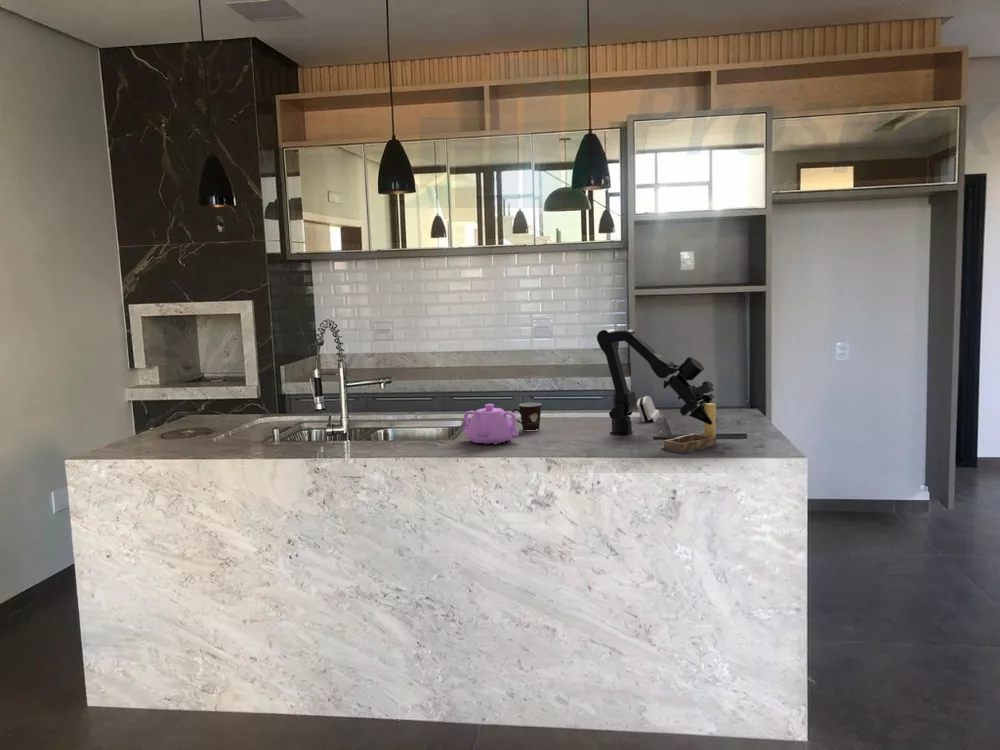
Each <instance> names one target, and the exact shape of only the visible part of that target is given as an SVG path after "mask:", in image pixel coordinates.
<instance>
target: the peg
mask: <svg viewBox="0 0 1000 750" xmlns="http://www.w3.org/2000/svg"><path fill="white" fill-rule="evenodd" d="M716 409H717V404H716V403H712V402H711V403H706V404H704V411H705V413H706V414H707V415H708V417H709V418H710V420H711V421H712V424H711V425H709V424H707V423H705V422H703V435H706V436H711V437H716V438H717V434H716V433H717V431H716V429H717V427H716V426H717V423H716V422H717V421H716V419H717V417H716V416H717V415H716V414H717V410H716Z"/></svg>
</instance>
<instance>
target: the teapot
mask: <svg viewBox="0 0 1000 750" xmlns="http://www.w3.org/2000/svg"><path fill="white" fill-rule="evenodd" d="M469 414H471V415H472V416H471V418H470V420H469V417H468V416H469ZM463 415H464V416H463V420H464V424H465V426H464V427H463V428H462V433H463V434H464V435H466V436H467V438H468V439H469V440H470V441H471V442H472V443H474V442H475V443H474V444H477V443H485V444H484V445H490V444H489V443H499V444H502V443H501V442H503V443H506V442H505V441H507V442H509V441H510V439H511V438H512V437H517V436H518V435H519V434H520V433H519V432H520V431H519V430H518V428H515V427H516V424H517V421H516V420H517V415H516V414H515V413H514V412H513V413H512V411H508V410H507V411H505V410H504V409H503V408H499V407H495V404H494V403H486V404H484V407H483V408H479V409H476V410H468V411H466V412H465V413H464V414H463ZM509 416H511V418H512V420H511V419H510V417H509ZM508 440H509V441H508ZM487 443H488V444H487Z"/></svg>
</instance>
